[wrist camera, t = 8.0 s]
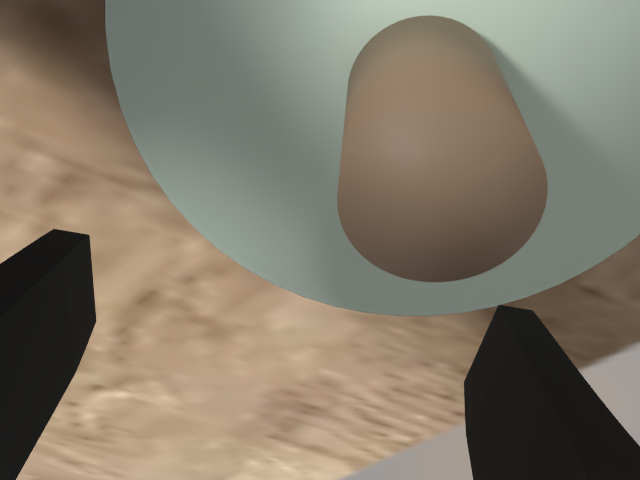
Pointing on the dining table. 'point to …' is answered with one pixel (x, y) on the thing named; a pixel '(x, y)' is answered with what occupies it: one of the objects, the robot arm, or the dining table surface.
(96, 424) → the dining table surface
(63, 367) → the robot arm
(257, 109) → the lid
